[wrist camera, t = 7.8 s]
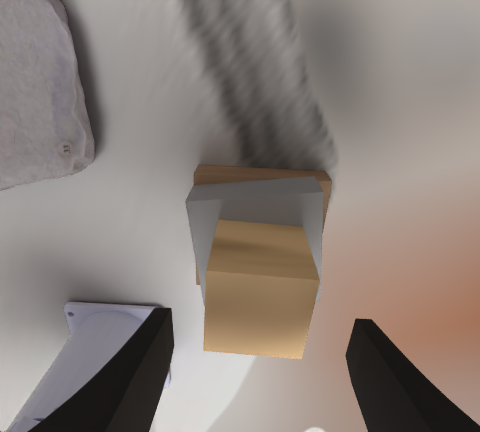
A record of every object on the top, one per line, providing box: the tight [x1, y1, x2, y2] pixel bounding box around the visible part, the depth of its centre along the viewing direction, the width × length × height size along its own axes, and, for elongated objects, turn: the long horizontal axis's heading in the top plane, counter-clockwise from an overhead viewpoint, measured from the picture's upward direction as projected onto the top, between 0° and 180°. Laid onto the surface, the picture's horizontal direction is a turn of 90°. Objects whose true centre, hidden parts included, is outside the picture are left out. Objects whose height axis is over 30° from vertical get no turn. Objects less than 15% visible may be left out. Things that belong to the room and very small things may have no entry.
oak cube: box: [204, 220, 320, 359], centre depth 15 cm, size 4×4×4 cm
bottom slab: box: [194, 165, 332, 285], centre depth 20 cm, size 8×8×2 cm
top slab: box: [185, 176, 324, 306], centre depth 18 cm, size 7×7×2 cm
